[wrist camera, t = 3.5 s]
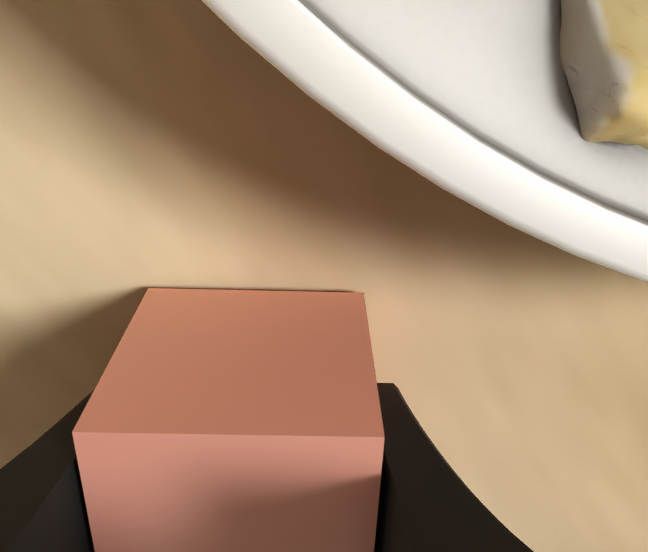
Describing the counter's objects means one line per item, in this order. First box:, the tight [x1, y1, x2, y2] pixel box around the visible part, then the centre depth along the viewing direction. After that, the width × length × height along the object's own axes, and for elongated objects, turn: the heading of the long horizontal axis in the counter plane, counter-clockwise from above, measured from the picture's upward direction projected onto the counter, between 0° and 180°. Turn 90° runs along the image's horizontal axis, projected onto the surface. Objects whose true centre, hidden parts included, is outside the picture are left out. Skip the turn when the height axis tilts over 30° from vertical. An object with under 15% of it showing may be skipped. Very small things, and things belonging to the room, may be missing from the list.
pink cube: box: [72, 288, 385, 552], centre depth 12 cm, size 4×4×4 cm
